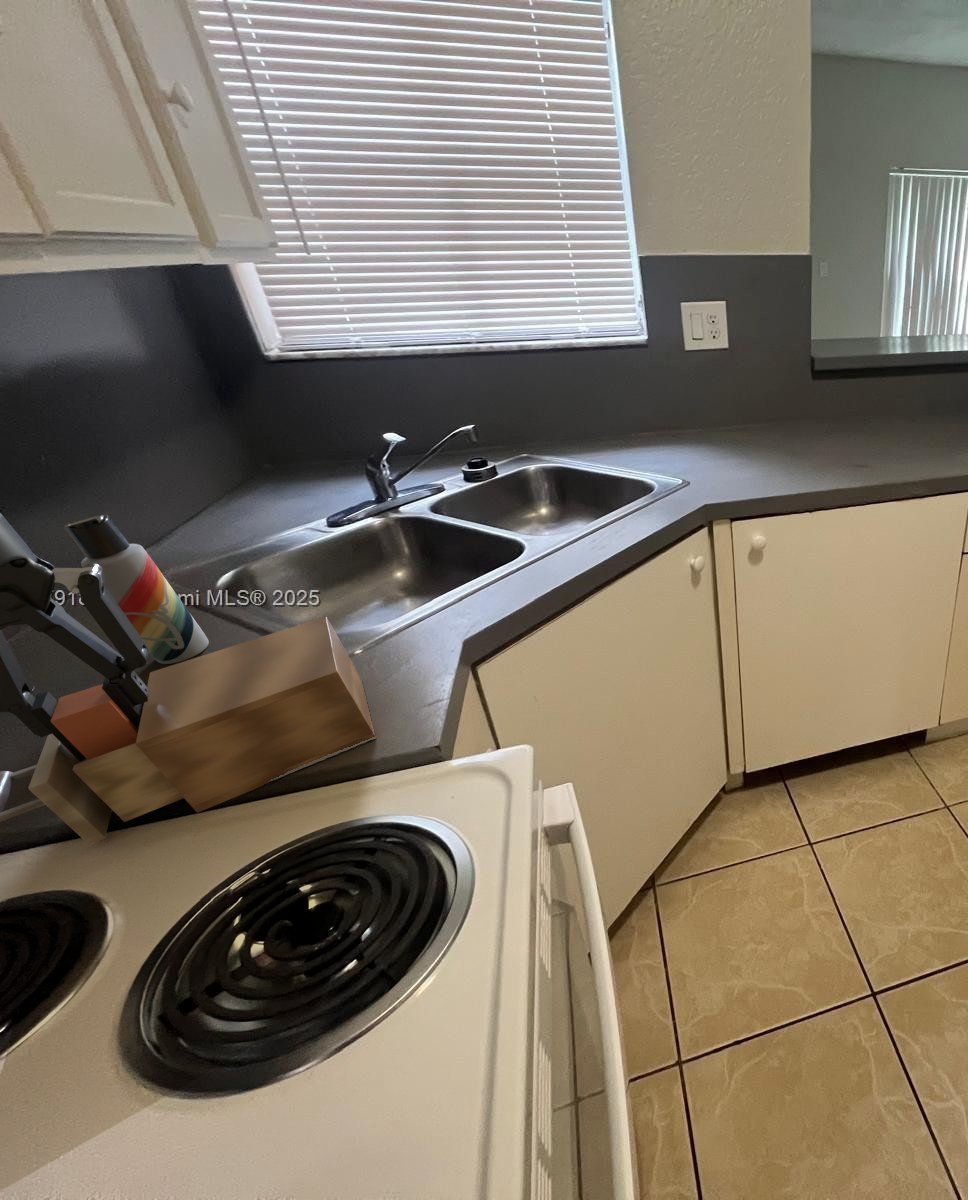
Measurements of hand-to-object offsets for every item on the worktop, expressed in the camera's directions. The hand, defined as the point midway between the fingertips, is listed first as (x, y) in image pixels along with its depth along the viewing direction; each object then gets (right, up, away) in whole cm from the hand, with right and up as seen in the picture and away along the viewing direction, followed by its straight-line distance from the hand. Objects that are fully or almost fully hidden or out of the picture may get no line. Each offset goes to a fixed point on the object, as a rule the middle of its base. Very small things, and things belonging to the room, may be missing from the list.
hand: (120, 739), depth 61 cm
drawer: (0, -5, +3) cm, 6 cm away
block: (0, 0, 0) cm, 0 cm away
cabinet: (+9, -2, +9) cm, 13 cm away
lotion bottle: (-17, +6, +24) cm, 30 cm away
